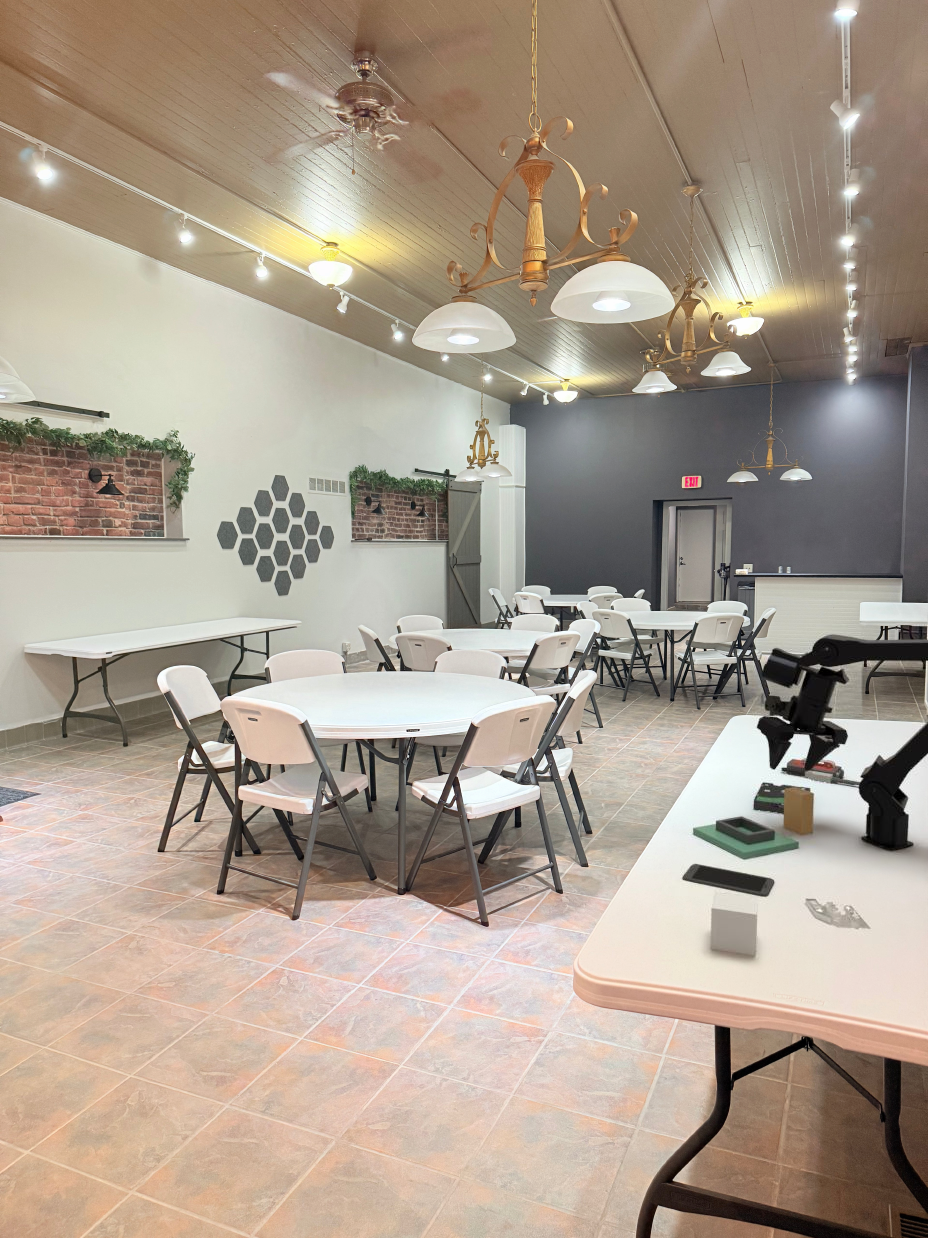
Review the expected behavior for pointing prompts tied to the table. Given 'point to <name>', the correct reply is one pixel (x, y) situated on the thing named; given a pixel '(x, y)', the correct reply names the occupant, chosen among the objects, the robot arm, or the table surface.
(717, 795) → the table surface
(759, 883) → the cell phone
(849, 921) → the stamped metal plate
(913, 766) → the robot arm
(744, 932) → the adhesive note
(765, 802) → the disk drive
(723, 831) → the board
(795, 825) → the plug
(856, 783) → the red and grey actuator
